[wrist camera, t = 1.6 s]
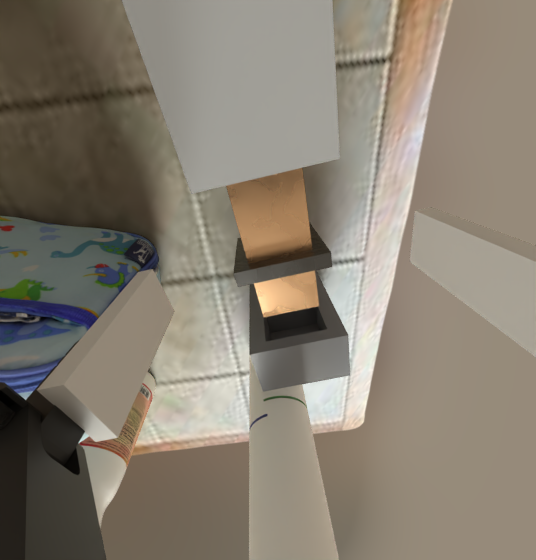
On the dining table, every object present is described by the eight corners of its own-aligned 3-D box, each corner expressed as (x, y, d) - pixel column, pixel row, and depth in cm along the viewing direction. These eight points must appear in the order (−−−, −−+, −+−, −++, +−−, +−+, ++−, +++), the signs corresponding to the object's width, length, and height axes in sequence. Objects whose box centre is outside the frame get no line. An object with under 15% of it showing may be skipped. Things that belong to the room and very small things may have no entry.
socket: (249, 281, 32) (249, 354, 21) (314, 267, 32) (348, 335, 21) (258, 313, 35) (262, 391, 24) (318, 300, 34) (350, 375, 24)
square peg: (174, 21, 16) (126, -55, 10) (281, -9, 15) (302, -107, 9) (251, 284, 26) (251, 328, 20) (315, 270, 26) (335, 311, 20)
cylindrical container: (240, 347, 38) (227, 616, 17) (275, 324, 36) (312, 596, 15) (268, 369, 41) (288, 620, 20) (302, 348, 39) (365, 603, 18)
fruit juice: (153, 401, 44) (36, 724, 20) (97, 393, 41) (-114, 744, 17) (161, 367, 39) (21, 728, 15) (98, 356, 37) (-180, 756, 13)
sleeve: (183, 56, 20) (107, -39, 9) (285, 29, 20) (327, -103, 9) (216, 169, 25) (191, 193, 14) (300, 149, 24) (339, 158, 14)
